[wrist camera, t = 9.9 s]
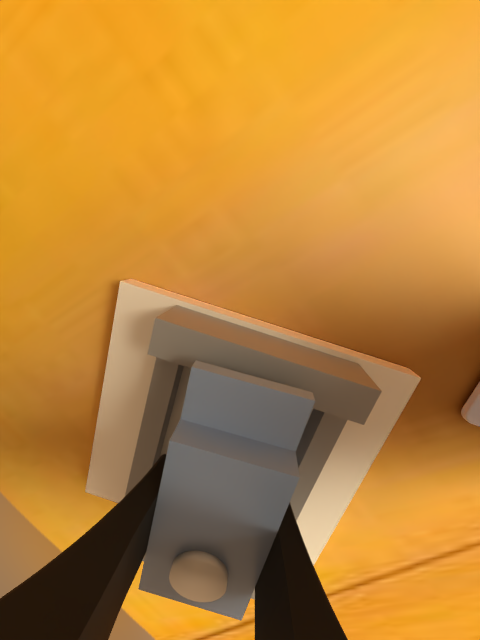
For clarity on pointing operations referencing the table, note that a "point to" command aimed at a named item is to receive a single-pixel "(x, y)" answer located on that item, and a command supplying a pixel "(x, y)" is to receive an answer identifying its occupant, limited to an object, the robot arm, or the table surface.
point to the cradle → (253, 359)
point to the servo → (224, 488)
